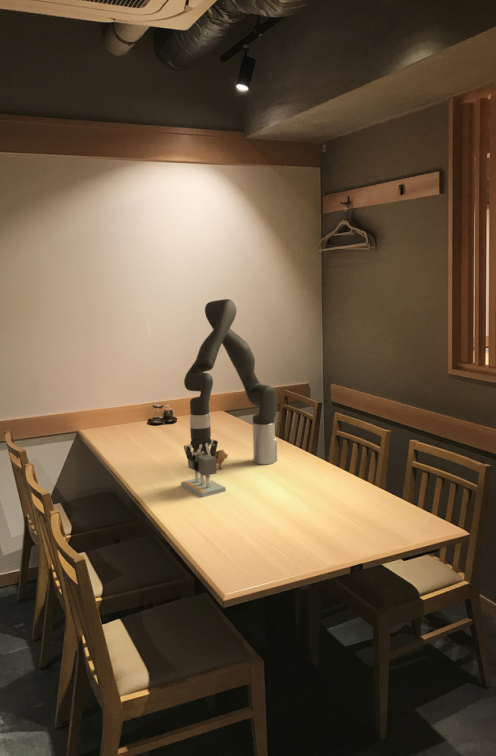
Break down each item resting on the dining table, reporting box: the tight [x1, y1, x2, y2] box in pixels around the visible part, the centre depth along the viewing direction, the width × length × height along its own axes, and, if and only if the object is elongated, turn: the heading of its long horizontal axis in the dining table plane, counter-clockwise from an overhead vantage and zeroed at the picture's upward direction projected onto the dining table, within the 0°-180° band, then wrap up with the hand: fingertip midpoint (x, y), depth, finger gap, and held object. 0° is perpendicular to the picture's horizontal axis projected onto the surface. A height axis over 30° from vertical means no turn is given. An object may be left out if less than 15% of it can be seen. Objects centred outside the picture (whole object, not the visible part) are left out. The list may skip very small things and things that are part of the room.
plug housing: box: [187, 450, 217, 477], centre depth 243 cm, size 5×13×6 cm, turn 35°
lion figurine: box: [213, 449, 229, 472], centre depth 269 cm, size 15×5×9 cm, turn 36°
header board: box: [180, 471, 226, 498], centre depth 244 cm, size 10×16×6 cm, turn 35°
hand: (202, 469), depth 244 cm, fingers closed on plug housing, 4 cm apart
